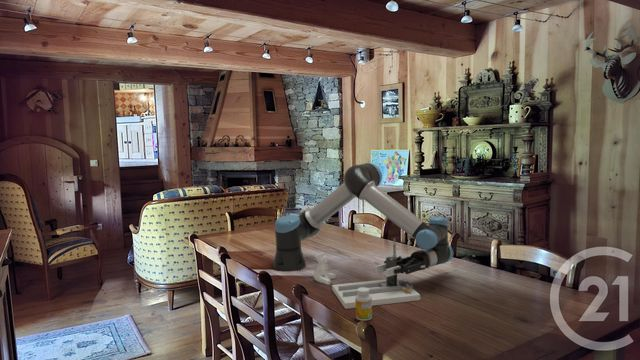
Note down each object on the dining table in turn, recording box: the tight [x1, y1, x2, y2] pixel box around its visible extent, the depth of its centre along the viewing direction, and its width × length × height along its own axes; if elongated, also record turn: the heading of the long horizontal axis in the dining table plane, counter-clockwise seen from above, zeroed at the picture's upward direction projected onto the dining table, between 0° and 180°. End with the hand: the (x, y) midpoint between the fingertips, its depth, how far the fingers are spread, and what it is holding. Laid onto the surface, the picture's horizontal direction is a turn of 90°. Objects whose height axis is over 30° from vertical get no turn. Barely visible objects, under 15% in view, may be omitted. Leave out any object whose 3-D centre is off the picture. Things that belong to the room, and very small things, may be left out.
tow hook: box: [392, 237, 398, 258], centre depth 206 cm, size 8×13×9 cm
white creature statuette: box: [313, 252, 337, 286], centre depth 184 cm, size 10×9×12 cm
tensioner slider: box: [380, 256, 414, 289], centre depth 165 cm, size 11×10×11 cm
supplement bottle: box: [355, 287, 373, 322], centre depth 146 cm, size 5×5×10 cm
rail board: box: [331, 277, 421, 310], centre depth 166 cm, size 28×20×4 cm
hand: (381, 271), depth 164 cm, fingers open, 5 cm apart
